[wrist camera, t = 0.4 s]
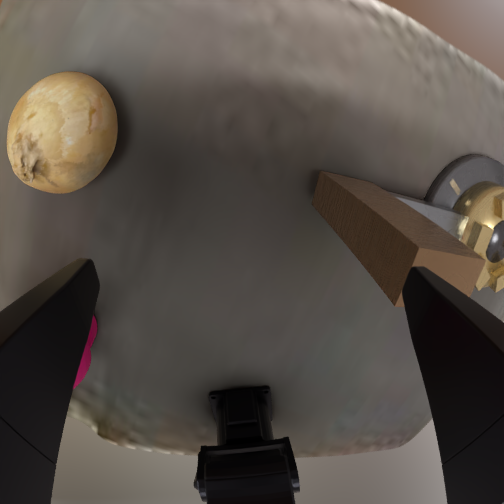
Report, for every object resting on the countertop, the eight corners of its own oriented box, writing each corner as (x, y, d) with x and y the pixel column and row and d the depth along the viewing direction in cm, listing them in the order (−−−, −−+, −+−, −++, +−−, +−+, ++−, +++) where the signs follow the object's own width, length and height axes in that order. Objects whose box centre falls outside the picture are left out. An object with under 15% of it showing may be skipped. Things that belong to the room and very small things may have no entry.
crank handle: (518, 194, 23) (606, 246, 12) (488, 274, 27) (561, 343, 16) (330, 123, 19) (448, 154, 9) (300, 247, 23) (362, 370, 12)
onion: (28, 94, 17) (-29, 98, 11) (121, 61, 18) (81, 46, 11) (47, 191, 21) (-3, 224, 15) (138, 168, 21) (106, 197, 15)
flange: (494, 270, 29) (503, 277, 27) (407, 289, 28) (415, 298, 27) (515, 158, 23) (525, 162, 22) (423, 151, 22) (434, 155, 21)
